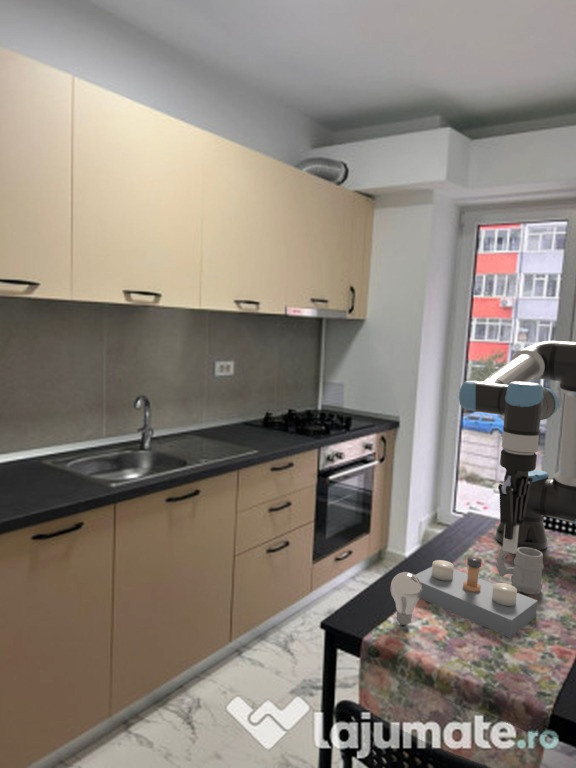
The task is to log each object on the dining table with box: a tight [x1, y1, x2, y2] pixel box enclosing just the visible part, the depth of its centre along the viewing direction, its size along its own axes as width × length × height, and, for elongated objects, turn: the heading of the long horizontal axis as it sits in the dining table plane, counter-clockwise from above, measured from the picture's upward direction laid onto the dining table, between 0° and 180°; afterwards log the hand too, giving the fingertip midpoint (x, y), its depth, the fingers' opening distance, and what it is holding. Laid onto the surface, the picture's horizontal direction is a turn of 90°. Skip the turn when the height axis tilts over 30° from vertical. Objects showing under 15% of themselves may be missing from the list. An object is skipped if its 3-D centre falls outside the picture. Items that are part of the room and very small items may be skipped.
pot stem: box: [463, 556, 482, 593], centre depth 137 cm, size 4×4×7 cm
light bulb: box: [389, 571, 422, 627], centre depth 126 cm, size 7×7×12 cm
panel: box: [414, 566, 539, 638], centre depth 137 cm, size 14×26×4 cm, turn 45°
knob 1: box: [431, 559, 455, 581], centre depth 143 cm, size 5×5×7 cm
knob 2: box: [492, 582, 518, 607], centre depth 132 cm, size 5×5×7 cm
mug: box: [496, 546, 544, 595], centre depth 149 cm, size 8×12×12 cm, turn 53°
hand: (509, 551), depth 131 cm, fingers closed
